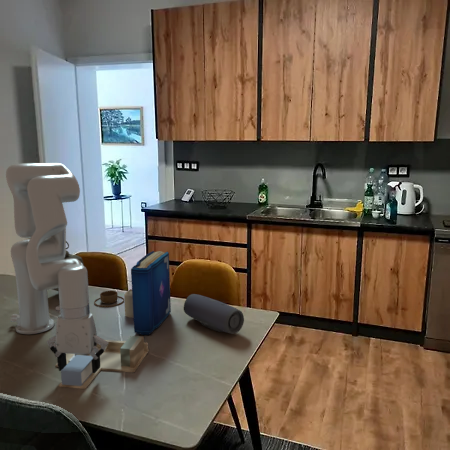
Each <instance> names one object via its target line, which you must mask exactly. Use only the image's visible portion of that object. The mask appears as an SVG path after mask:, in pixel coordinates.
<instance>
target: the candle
mask: <svg viewBox="0 0 450 450" xmlns="http://www.w3.org/2000/svg"><path fill="white" fill-rule="evenodd" d="M123 298H124V316H125V317H126V318H129V319H134V317H133V299H132V288H131V289H128V290H126V292H125V293H124V295H123Z"/></svg>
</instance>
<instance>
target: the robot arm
mask: <svg viewBox="0 0 450 450" xmlns="http://www.w3.org/2000/svg"><path fill="white" fill-rule="evenodd" d="M5 178H6V184H7V185H8V188H9V190H10V192H11V194H12V198H13V214H14V216H13V220H14V229H15V233H16V234H17V236H18V237H19V238H24V240H22V239H21V240H19V241H17V242H15V243H13V244H12V245H11V248H10V257H11V261H12V264H13V268H14V274H15V281H16V283H15V284H16V291H17V302H18V313H19V314H17V313H12V314H11V316H10V322H13V323H15V322H16V323H17V324H16V325H15V331H16V332H17V334H21V335H34V334H40V333H43V332H46V331H49V330H52V328H53V327H54V326H56V328H55V335H54V336H52V337H50V338H48V339H47V340H46V344H47V345H48V347H49V348H50V351H51V352H52V353H53V354H54V357H55V358H56V361H57V362H56V364H57V363H58V366H59V367H58V372H61V370H62V369H63V368H64V367H65V366H66V365H67V361H66V354H67V353H70V354H90V355H91V356H92V357H93V359H92V373H96V372H97V370H98V369H99V368H100V356H101V355H102V354H103V352H104V351H105V350H106V348H107V346H108V342H107V341H105V340H106V339H104V338H102V337H100V336H98V335H97V328H96V323H95V319H94V315H93V313H91V310H90V309H91V308H90V295H89V293H90V292H89V279H88V278H89V277H88V276H89V275H88V269H87V267H86V266H85V265H84V266H83V264H82V263H81V262H80V261H79V260H78V259H75V258H71V259H64V258H65V254H66V251H67V249H66V248H67V243H66V241H67V240H66V239H67V226H68V220H67V217H66V212H65V207H64V204H65V203H73V202H76V201H78V199H80V196H81V195H80V194H81V189H80V184H79V182H78V180H77V178H76V176H75V175H74V173H73V172H72V171H71V170H70V169H69V168H68V167H67V166H65V164H63V163H60V162H24V163H15V164H14V163H13V164H11V165H9V166H7V168H6V171H5ZM63 203H64V204H63ZM27 238H28V239H27ZM54 288H58V289H59V291H58V299H59V305H56V307H55V310H56V312H59V315H58V316H57V320H56V324H55V320H54V319H52V318H51V317H50V311H49V310H50V309H49V299H48V297H49V296H48V291H49V290H52V289H54ZM97 344H99V345H101V349H100V350H99V349H98V348H97V347H96V346H97Z"/></svg>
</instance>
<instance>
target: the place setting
mask: <svg viewBox="0 0 450 450" xmlns="http://www.w3.org/2000/svg"><path fill="white" fill-rule="evenodd" d="M118 295H119V293H118V291H116V290H106V291H102V292H100V294H99V297H98V298H96V299H95V300H94V302H93V303H94V305H95V306H96V307H100V308H113V307H118V306H120V305H123V303H125V300H124V296H123V297H122V296H118ZM118 298H119V299H121V300H122V301H120V302H119V303H116V302H117V301H118ZM98 300H99V301H101V303H103V304H105V305H103V304H102V305H101V304H97V303H96V302H97V301H98ZM114 303H116V304H114Z"/></svg>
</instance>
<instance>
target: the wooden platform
mask: <svg viewBox="0 0 450 450" xmlns="http://www.w3.org/2000/svg"><path fill="white" fill-rule="evenodd" d="M104 340H105V341H107V342H108V346H107V348H106V350H105V351H104V352H103V354H102V355H101V356H100V368H99V369H98V370H97V372H96V373H92V374H91V375H90V376H89V377H88V379H87V380H86V381H85V382H84V383H83V385H82V386H74V385H62V381H61V382H60V383H59V384H58V387H60V388H70V389H81V390H82V389H83V390H86V389H87V388H88V387H89V386H90V384H91V383H92V381H94V379H95V378H96V377H97V375H98V374H99V373H100V372H101V371H110V372H121V373H122V372H124V373H135V372H136V371H137V369H138V368H139V366H140V365H141V363H142V362H143V360H144V359H145V357H146V356H147V354H148V352H149V350H150V349H149V343H148V342H145V338H144V336H138V335H135V336H134V335H130V336H129V337H128V338H127V339H126V340H115V339H114V340H113V339H104ZM96 347H97V348H98V349H99V350H100V349H101V345H99V344H97V346H96ZM65 354H66V361H67V364H68V361H69V360H70V359H71V358H72V357H73V356H74V355H75V354H70V353H65ZM86 356H91V355H90V354H86ZM55 367H56V368H57V367H58V368H59V366H58V363H57V362H56V363H55Z"/></svg>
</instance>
